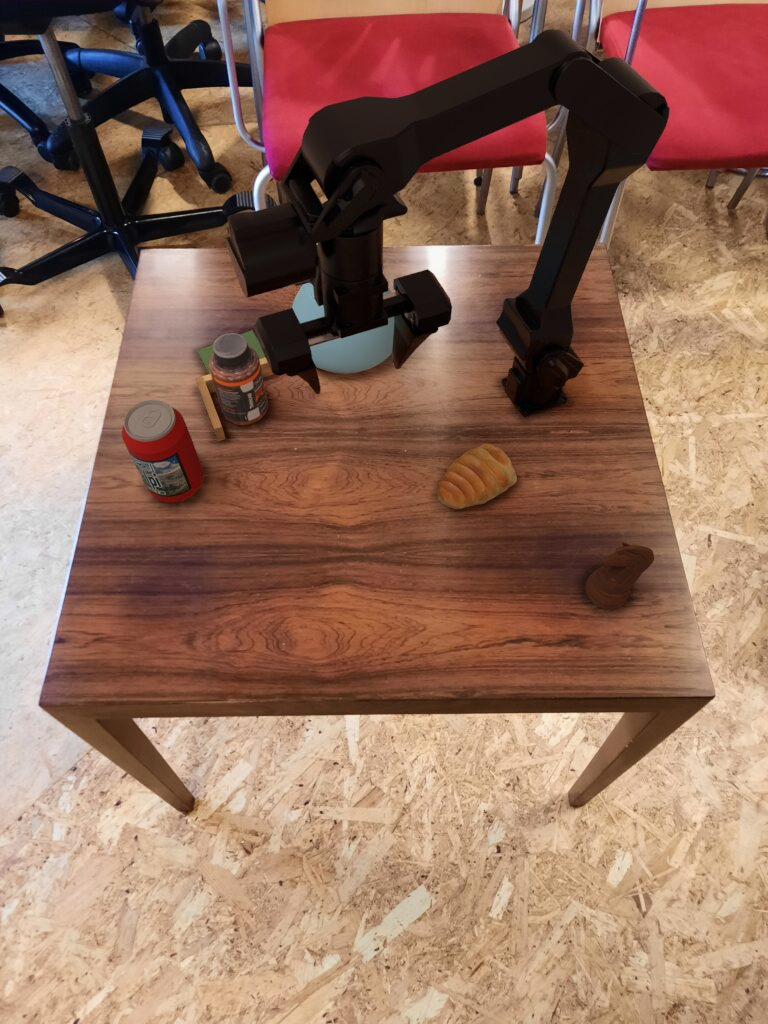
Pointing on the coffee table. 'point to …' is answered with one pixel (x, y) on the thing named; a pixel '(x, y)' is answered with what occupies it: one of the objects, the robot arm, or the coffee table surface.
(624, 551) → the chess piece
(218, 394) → the supplement bottle
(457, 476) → the pastry
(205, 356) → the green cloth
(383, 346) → the sugar bowl
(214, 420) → the corner guard
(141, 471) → the beverage can
